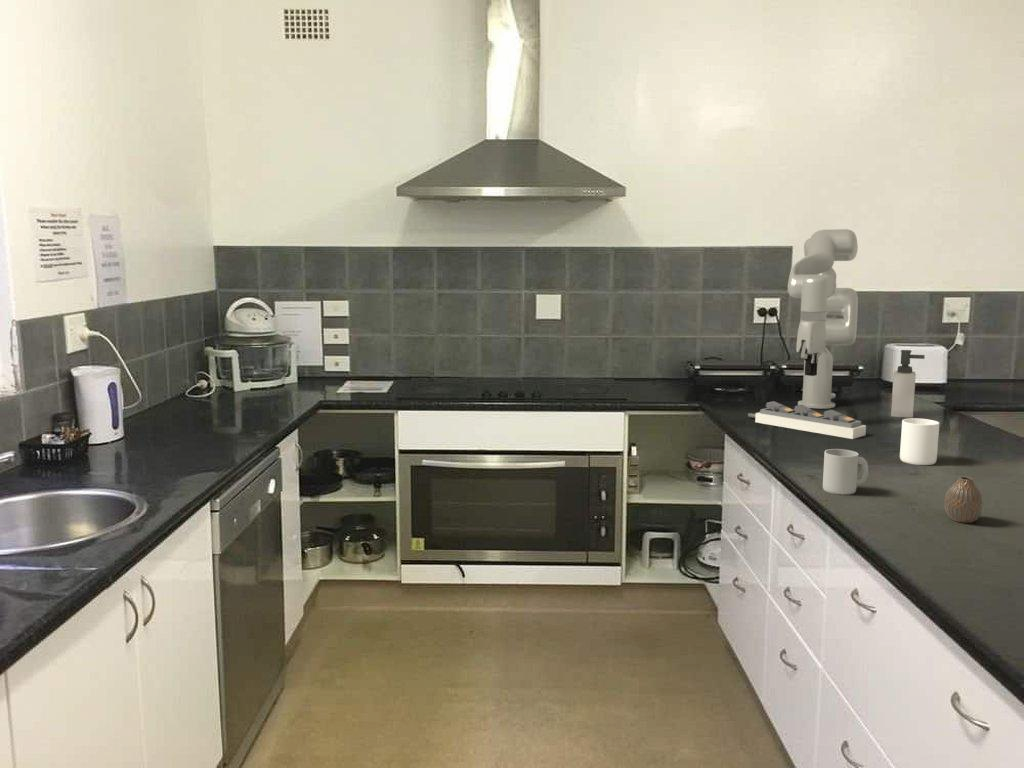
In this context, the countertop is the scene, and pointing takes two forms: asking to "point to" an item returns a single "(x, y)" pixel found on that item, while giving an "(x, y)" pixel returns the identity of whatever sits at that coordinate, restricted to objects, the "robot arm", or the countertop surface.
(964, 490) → the vase
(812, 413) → the rocker
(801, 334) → the robot arm
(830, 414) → the rocker
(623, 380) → the countertop surface
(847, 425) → the power strip
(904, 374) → the soap dispenser
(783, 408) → the rocker
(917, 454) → the mug
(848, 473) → the cup
